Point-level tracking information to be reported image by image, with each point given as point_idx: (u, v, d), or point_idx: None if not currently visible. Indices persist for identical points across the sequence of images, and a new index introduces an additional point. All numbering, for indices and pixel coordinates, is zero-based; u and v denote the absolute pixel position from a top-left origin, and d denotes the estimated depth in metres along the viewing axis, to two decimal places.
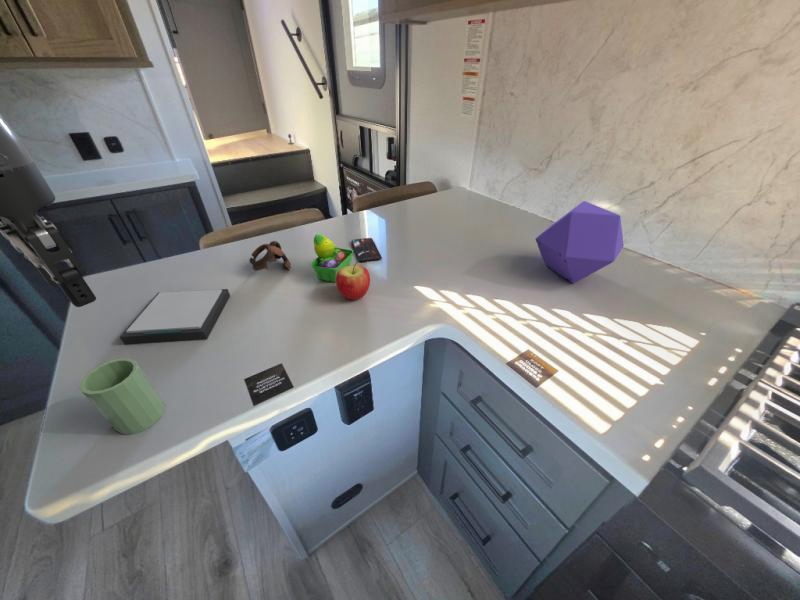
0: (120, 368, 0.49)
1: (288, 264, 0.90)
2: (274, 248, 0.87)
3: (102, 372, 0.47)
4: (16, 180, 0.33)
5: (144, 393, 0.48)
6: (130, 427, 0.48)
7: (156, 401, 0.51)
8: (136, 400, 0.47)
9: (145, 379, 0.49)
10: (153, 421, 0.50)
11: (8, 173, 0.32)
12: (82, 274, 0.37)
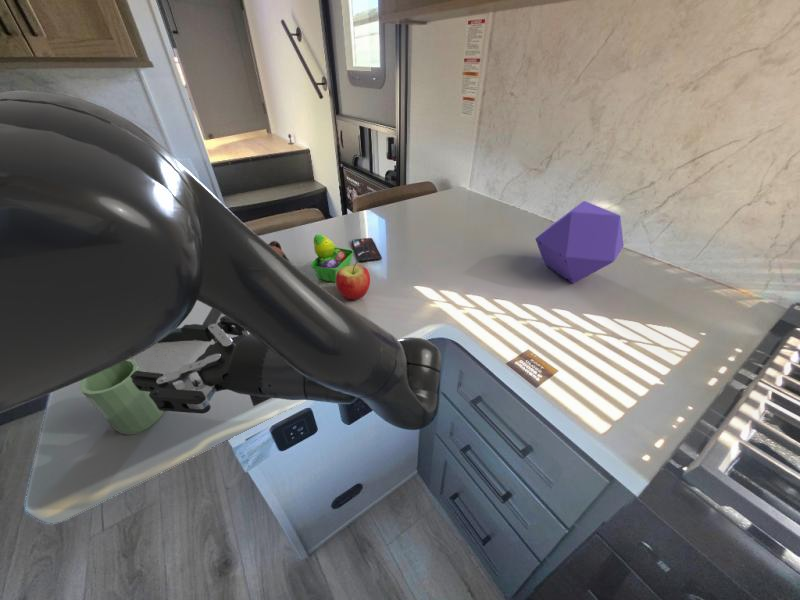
0: (120, 368, 0.49)
1: None
2: (274, 248, 0.87)
3: (102, 372, 0.47)
4: (258, 394, 0.38)
5: (144, 393, 0.48)
6: (130, 427, 0.48)
7: None
8: (136, 400, 0.47)
9: None
10: (153, 421, 0.50)
11: (263, 394, 0.37)
12: (158, 408, 0.36)
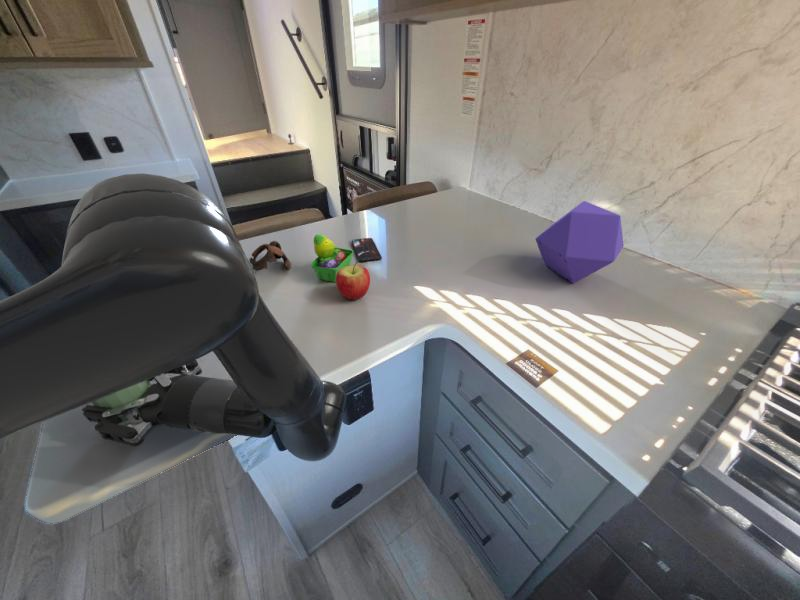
0: None
1: (288, 264, 0.90)
2: (274, 248, 0.87)
3: None
4: (188, 428, 0.45)
5: None
6: None
7: None
8: None
9: None
10: None
11: (192, 429, 0.44)
12: (102, 436, 0.43)
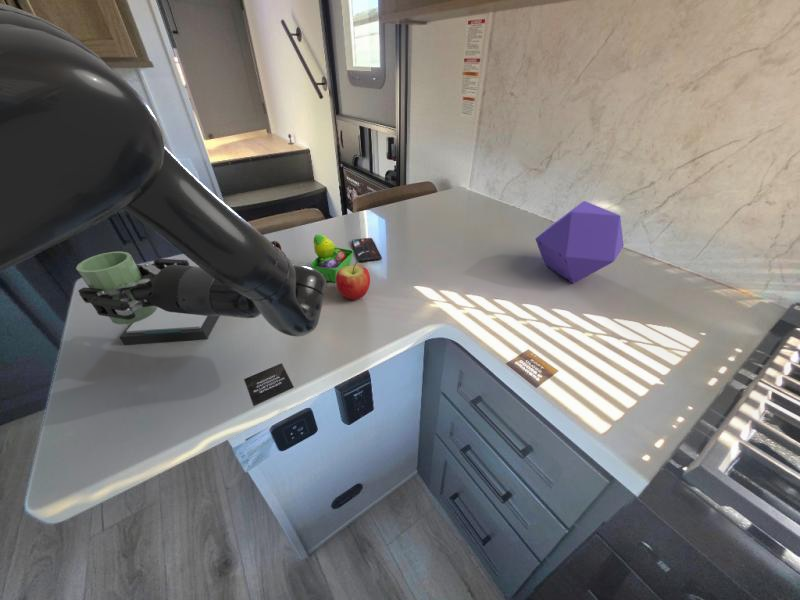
0: (115, 261, 0.52)
1: None
2: None
3: (98, 262, 0.50)
4: (177, 309, 0.47)
5: None
6: None
7: None
8: None
9: (138, 272, 0.52)
10: (146, 315, 0.53)
11: (180, 308, 0.47)
12: (97, 312, 0.46)
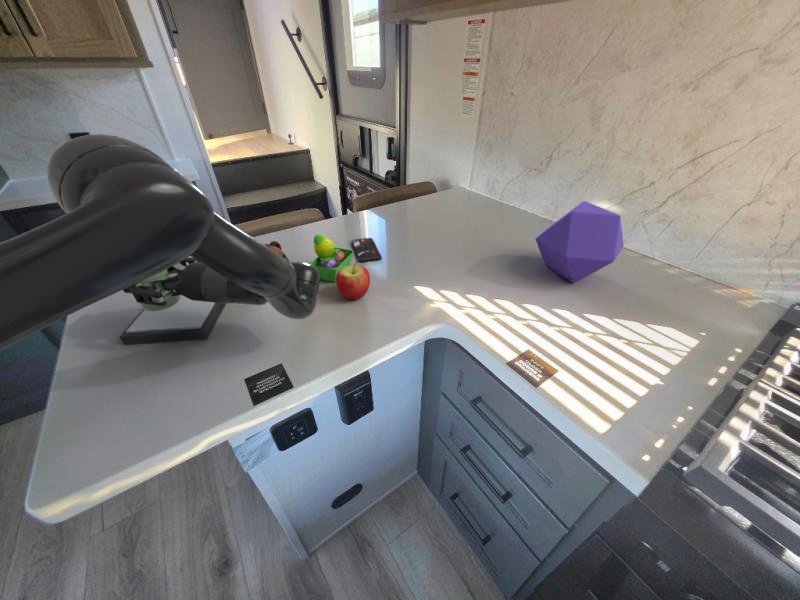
0: None
1: None
2: (274, 248, 0.87)
3: None
4: (200, 297, 0.59)
5: None
6: None
7: None
8: None
9: None
10: (172, 303, 0.64)
11: (203, 297, 0.58)
12: (136, 300, 0.57)
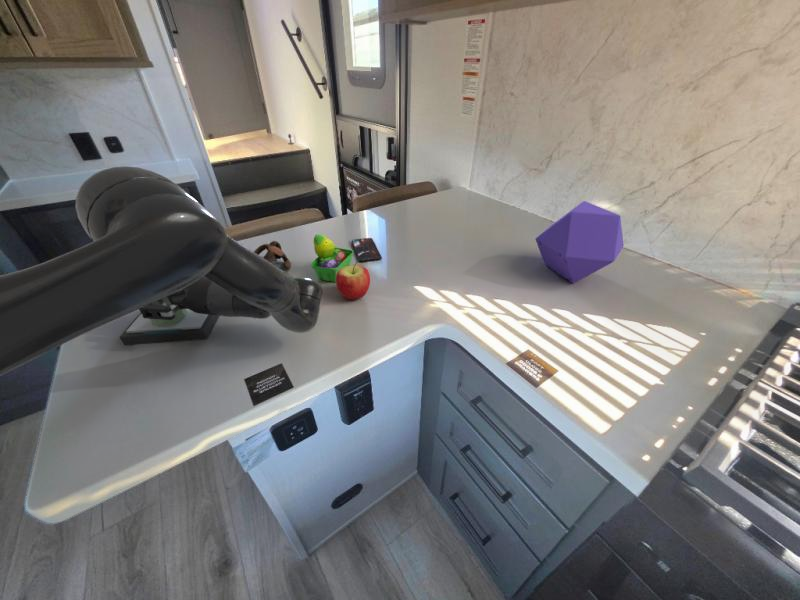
0: None
1: (288, 264, 0.90)
2: (274, 248, 0.87)
3: None
4: (205, 311, 0.60)
5: None
6: None
7: None
8: None
9: None
10: (180, 319, 0.67)
11: (208, 311, 0.60)
12: (143, 316, 0.58)
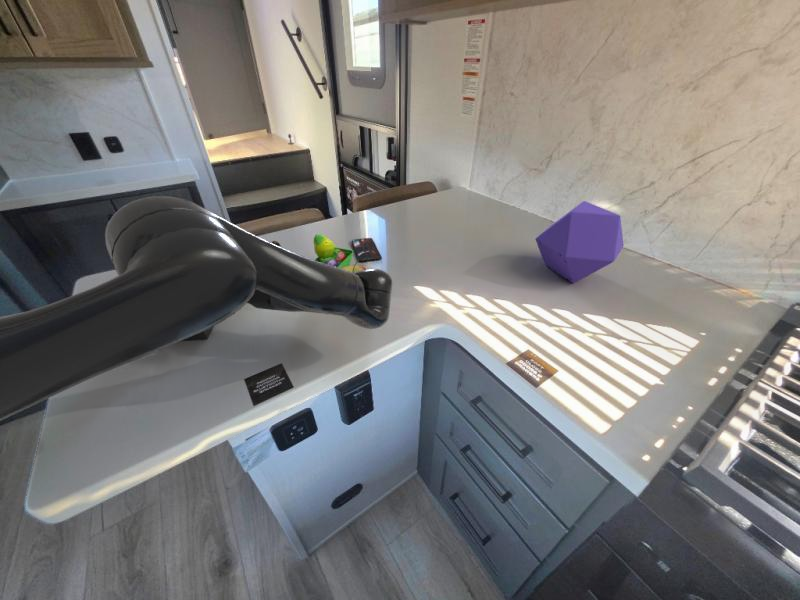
0: None
1: None
2: None
3: None
4: (267, 305, 0.55)
5: None
6: None
7: None
8: None
9: None
10: None
11: (271, 305, 0.55)
12: None
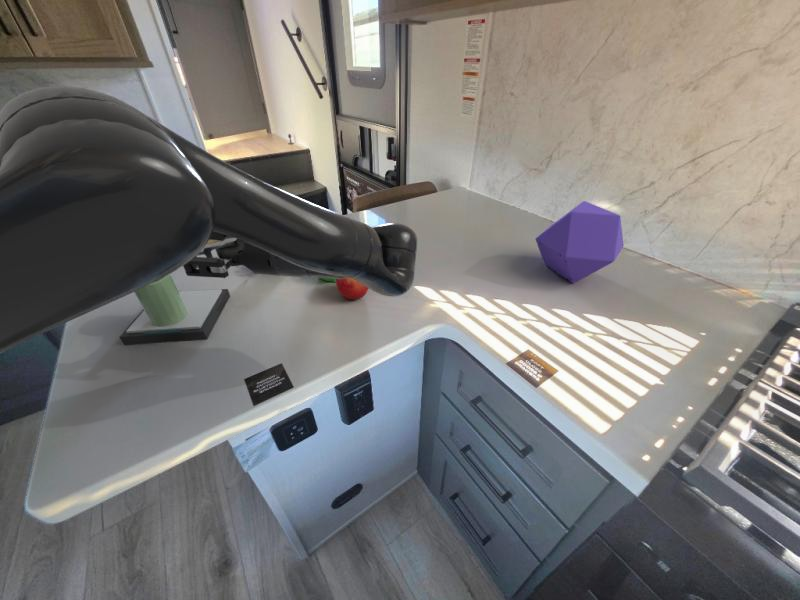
0: None
1: None
2: None
3: None
4: (267, 268, 0.46)
5: (173, 294, 0.64)
6: (163, 319, 0.64)
7: (182, 304, 0.67)
8: (168, 297, 0.63)
9: (174, 285, 0.65)
10: (180, 319, 0.67)
11: (271, 267, 0.46)
12: (186, 273, 0.44)
